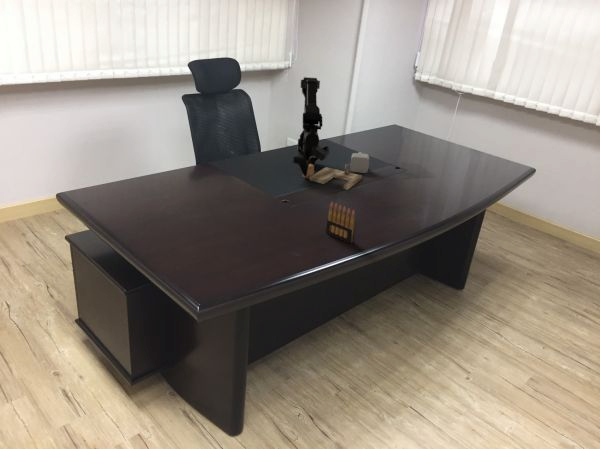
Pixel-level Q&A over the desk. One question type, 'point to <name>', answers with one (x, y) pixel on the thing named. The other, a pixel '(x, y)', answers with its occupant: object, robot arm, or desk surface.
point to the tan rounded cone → (309, 171)
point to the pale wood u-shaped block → (336, 176)
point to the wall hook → (359, 162)
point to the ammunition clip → (341, 223)
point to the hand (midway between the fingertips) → (307, 174)
